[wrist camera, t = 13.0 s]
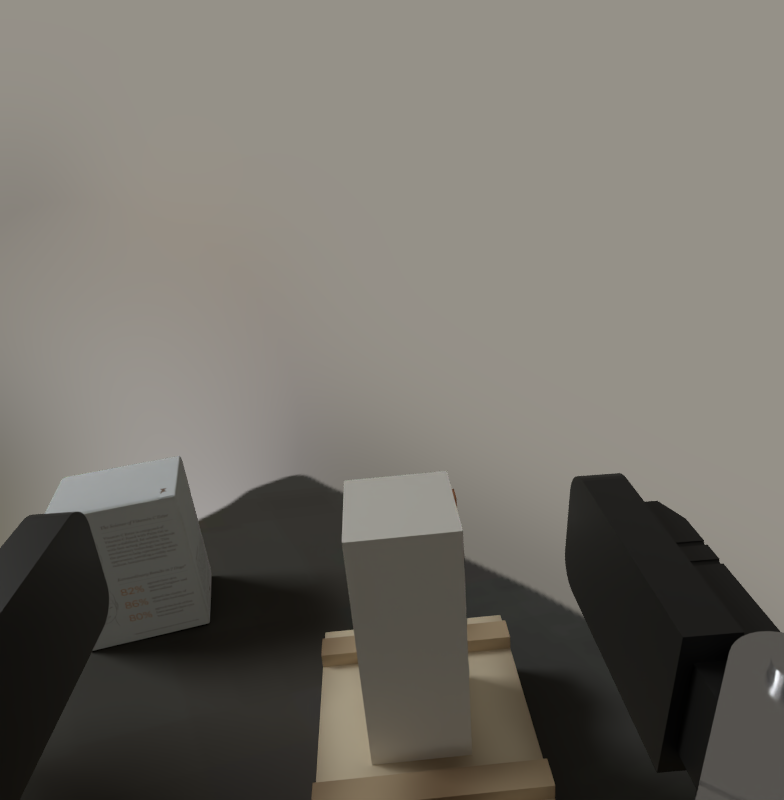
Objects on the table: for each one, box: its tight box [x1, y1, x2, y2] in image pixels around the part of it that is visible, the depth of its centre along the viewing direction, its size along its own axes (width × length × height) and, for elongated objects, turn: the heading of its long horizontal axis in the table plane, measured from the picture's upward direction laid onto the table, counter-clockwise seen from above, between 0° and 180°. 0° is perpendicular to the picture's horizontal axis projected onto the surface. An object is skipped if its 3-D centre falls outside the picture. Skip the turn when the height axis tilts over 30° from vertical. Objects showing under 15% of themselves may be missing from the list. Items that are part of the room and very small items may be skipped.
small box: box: [45, 456, 212, 651], centre depth 42 cm, size 8×6×10 cm
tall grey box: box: [342, 471, 472, 765], centre depth 28 cm, size 5×4×12 cm
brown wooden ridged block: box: [312, 615, 555, 800], centre depth 31 cm, size 10×12×5 cm
